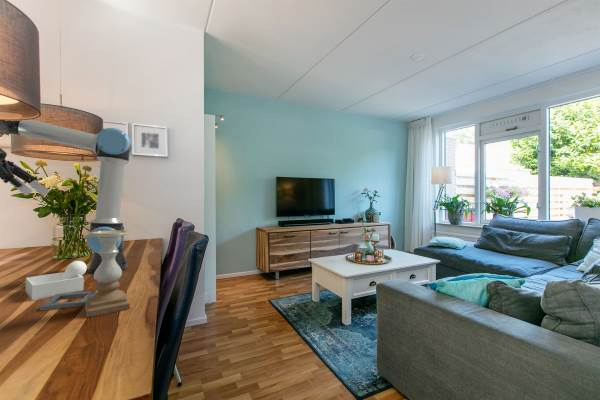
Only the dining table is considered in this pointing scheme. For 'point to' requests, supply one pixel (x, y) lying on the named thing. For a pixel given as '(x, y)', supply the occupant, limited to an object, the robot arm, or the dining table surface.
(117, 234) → the candle holder
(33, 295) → the bin
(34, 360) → the dining table surface
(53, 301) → the dark grey square frame
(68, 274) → the lightbulb
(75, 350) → the dining table surface
